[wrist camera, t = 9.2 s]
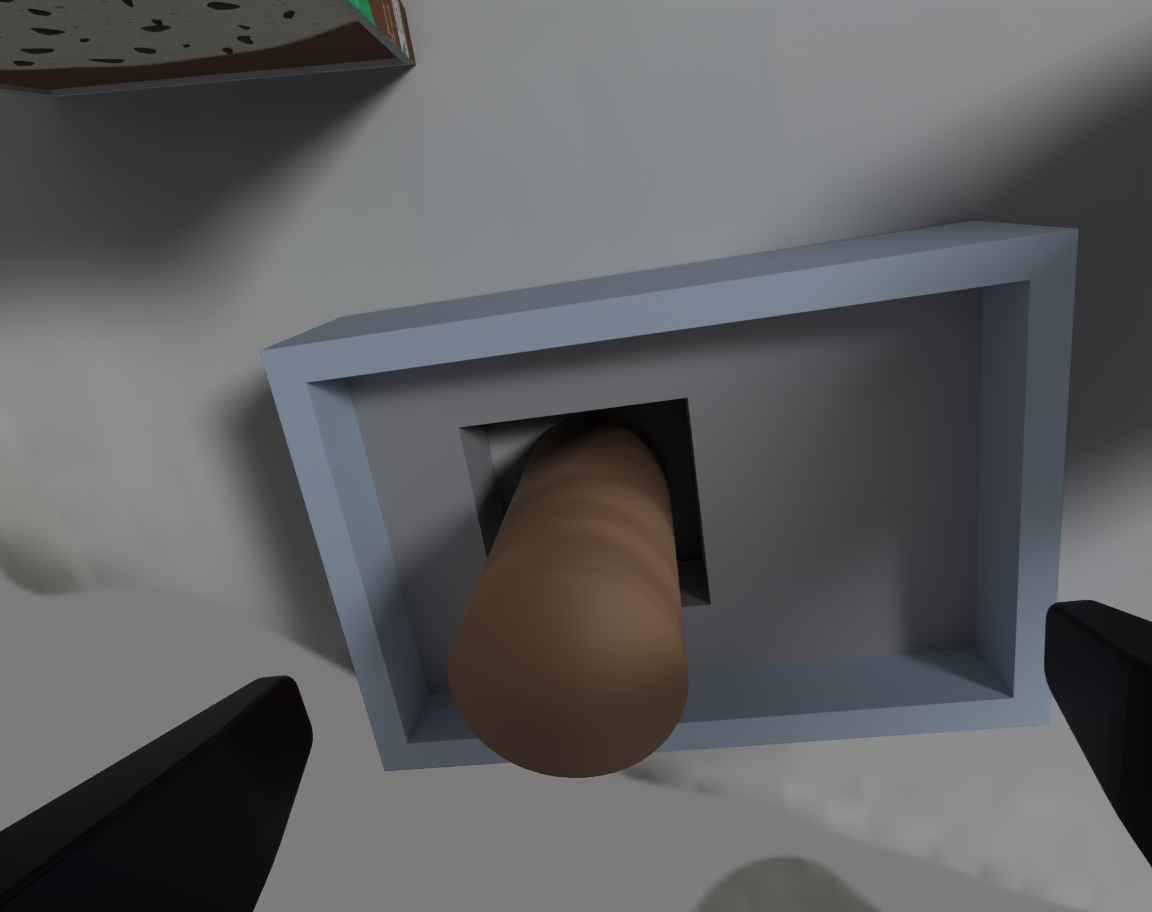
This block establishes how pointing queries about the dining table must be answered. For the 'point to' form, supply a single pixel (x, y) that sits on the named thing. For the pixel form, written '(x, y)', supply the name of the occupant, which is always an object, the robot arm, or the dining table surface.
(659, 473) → the peg
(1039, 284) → the box
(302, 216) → the dining table surface
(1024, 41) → the dining table surface
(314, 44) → the food container
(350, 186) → the dining table surface
